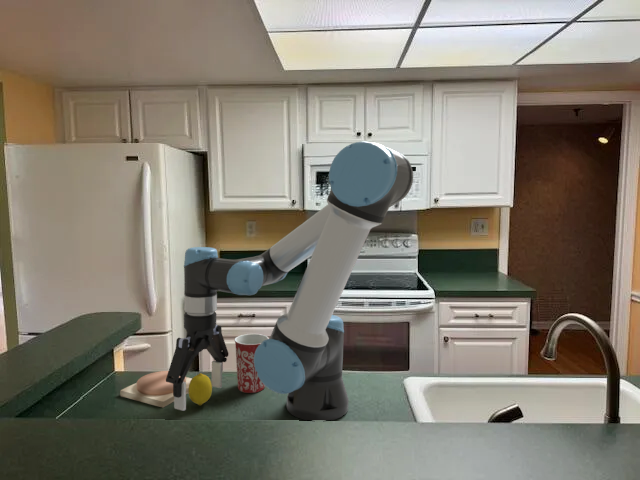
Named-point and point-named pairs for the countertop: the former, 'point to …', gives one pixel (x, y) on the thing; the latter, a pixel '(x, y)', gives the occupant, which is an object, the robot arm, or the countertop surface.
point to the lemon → (200, 389)
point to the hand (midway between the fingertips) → (199, 397)
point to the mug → (248, 362)
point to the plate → (153, 389)
